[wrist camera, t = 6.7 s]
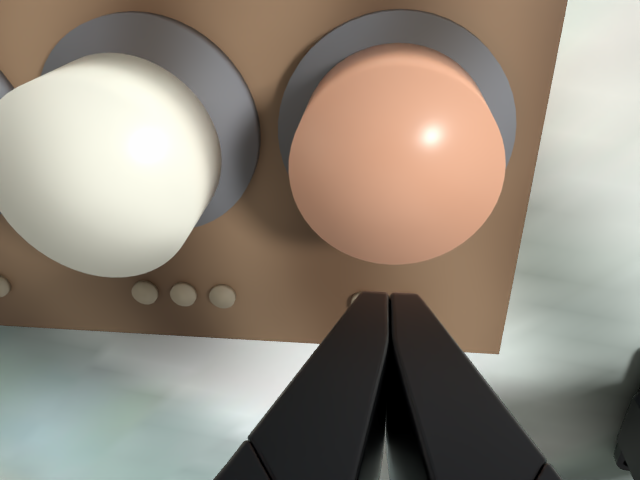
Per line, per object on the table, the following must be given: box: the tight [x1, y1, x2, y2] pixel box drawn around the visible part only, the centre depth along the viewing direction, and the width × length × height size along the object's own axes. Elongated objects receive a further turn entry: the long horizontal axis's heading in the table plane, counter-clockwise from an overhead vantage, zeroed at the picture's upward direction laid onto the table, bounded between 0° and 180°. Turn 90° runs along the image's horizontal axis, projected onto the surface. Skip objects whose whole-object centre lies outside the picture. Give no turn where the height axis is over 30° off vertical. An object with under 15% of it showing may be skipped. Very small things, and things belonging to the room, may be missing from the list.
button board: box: [0, 0, 568, 354], centre depth 17 cm, size 22×13×2 cm, turn 91°
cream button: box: [0, 53, 222, 277], centre depth 13 cm, size 5×5×2 cm
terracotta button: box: [289, 43, 506, 265], centre depth 14 cm, size 5×5×2 cm
